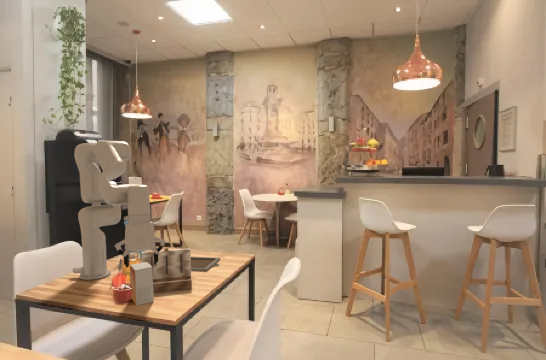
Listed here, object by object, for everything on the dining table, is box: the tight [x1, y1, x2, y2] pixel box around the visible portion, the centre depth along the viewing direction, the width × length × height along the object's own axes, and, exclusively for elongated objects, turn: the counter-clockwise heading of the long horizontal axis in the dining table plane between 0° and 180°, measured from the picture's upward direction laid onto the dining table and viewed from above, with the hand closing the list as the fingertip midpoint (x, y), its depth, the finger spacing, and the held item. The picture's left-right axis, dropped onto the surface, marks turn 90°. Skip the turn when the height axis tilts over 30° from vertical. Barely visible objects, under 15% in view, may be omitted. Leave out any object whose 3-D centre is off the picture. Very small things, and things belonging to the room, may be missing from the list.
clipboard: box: [191, 256, 221, 272], centre depth 171 cm, size 19×2×30 cm
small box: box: [129, 262, 155, 307], centre depth 126 cm, size 8×6×13 cm
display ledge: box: [141, 247, 193, 294], centre depth 141 cm, size 20×15×14 cm
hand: (141, 265), depth 125 cm, fingers open, 9 cm apart
